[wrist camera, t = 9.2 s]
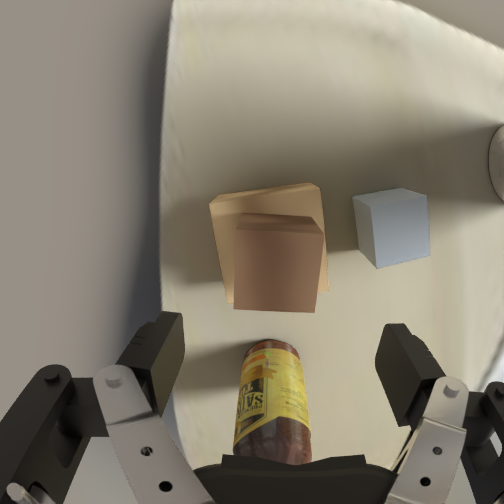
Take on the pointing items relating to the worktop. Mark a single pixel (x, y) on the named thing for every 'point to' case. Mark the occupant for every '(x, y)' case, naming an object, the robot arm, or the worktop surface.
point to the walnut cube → (277, 262)
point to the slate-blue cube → (392, 226)
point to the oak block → (264, 202)
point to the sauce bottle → (273, 406)
